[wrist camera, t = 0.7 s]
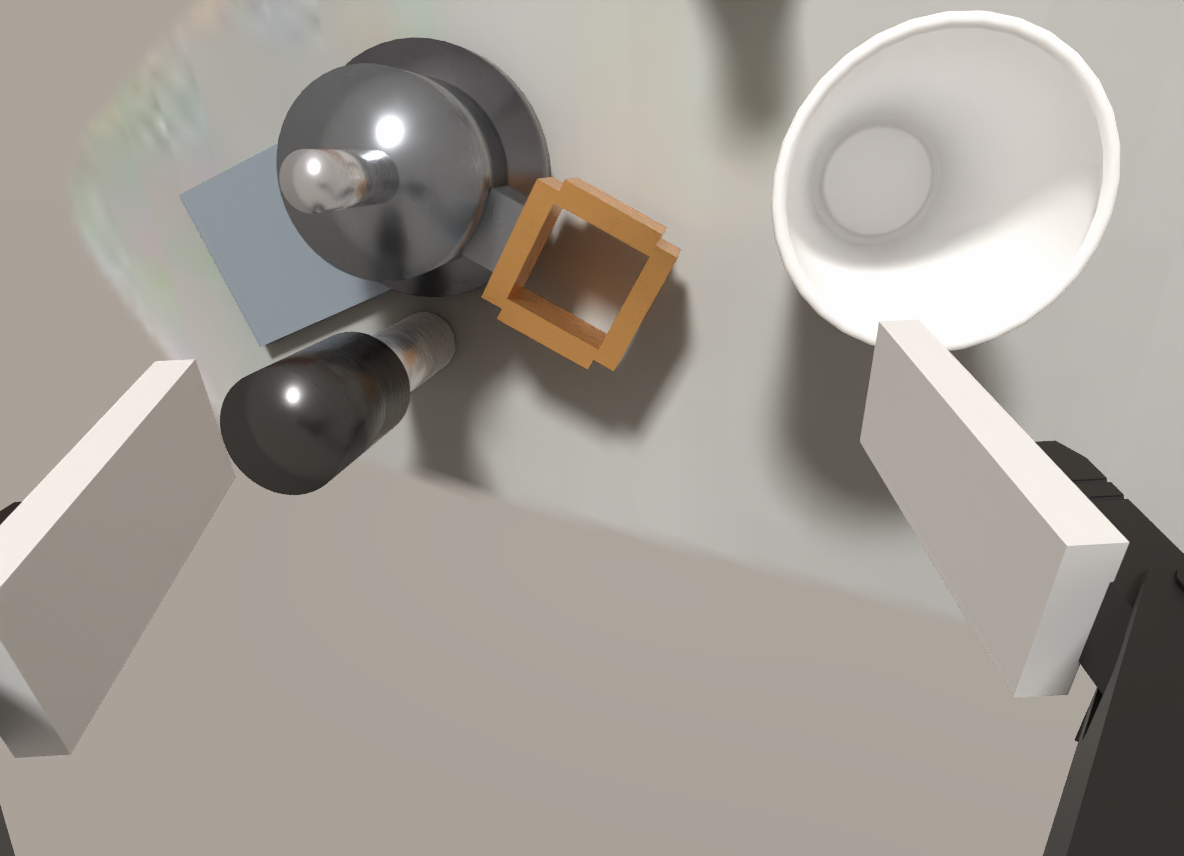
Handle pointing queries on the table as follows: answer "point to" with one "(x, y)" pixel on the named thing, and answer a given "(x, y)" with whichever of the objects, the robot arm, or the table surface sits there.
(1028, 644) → the robot arm
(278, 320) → the key mat
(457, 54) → the dark grey disc
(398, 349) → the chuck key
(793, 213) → the cup
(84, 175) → the table surface
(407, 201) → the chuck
